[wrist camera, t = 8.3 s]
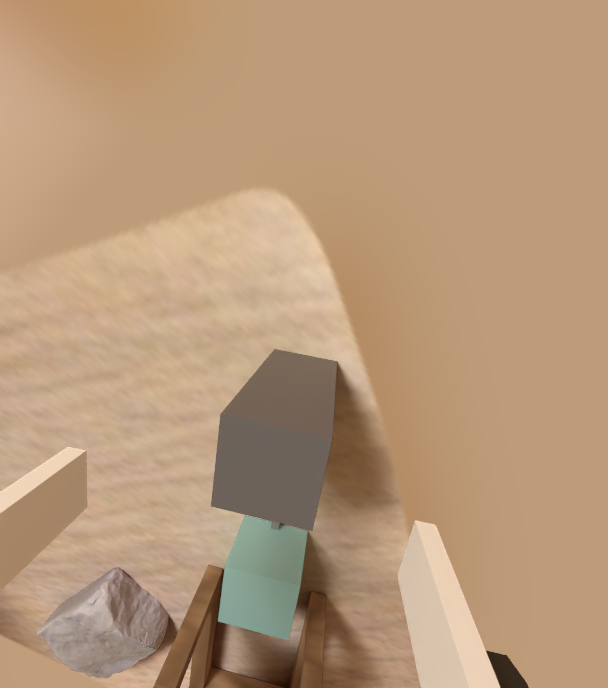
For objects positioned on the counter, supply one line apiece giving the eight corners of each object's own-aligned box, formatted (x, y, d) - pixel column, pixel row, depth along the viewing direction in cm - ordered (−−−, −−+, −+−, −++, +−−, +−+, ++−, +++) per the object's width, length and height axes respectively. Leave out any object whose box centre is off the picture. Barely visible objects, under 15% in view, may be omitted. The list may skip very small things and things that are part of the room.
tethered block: (237, 564, 30) (180, 727, 19) (268, 348, 24) (209, 411, 13) (297, 579, 29) (271, 755, 19) (343, 362, 24) (344, 441, 13)
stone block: (187, 599, 35) (114, 557, 32) (170, 656, 30) (82, 613, 27) (127, 633, 38) (55, 598, 35) (103, 688, 34) (19, 653, 31)
